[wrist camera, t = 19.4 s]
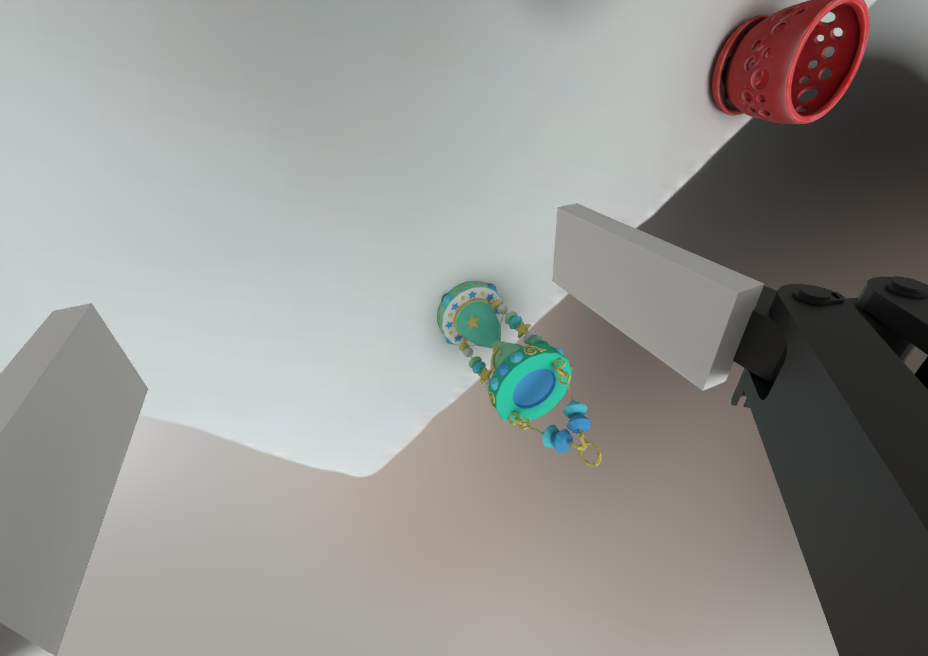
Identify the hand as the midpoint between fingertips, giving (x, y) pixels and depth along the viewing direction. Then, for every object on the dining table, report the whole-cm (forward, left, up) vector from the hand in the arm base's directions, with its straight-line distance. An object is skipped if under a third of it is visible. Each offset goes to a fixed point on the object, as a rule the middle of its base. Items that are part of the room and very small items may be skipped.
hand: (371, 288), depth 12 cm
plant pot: (-44, +42, -37) cm, 71 cm away
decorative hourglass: (+6, +31, -37) cm, 49 cm away
